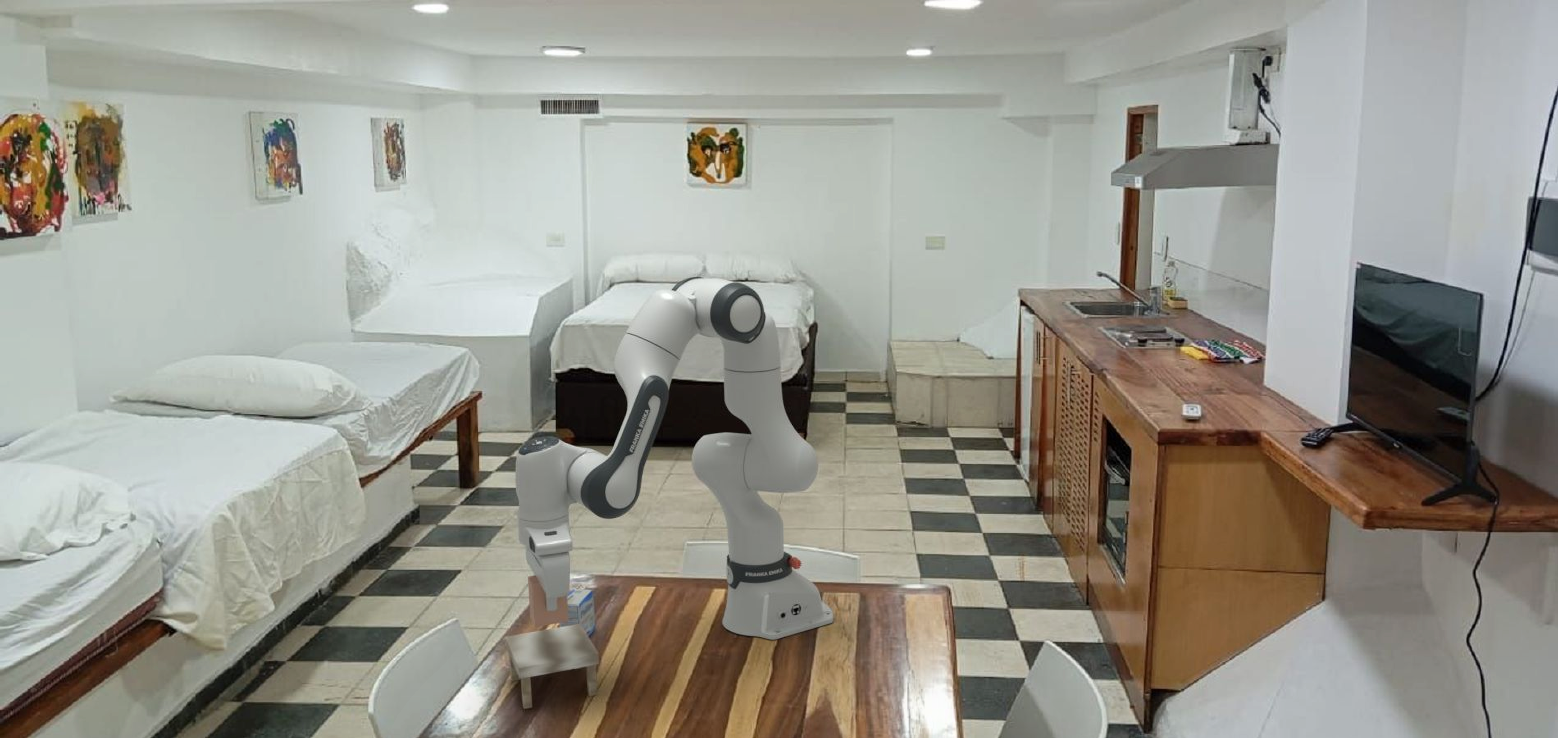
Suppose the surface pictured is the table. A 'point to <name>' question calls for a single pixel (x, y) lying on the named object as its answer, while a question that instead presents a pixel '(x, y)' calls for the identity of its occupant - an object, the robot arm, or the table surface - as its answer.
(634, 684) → the table surface
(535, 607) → the block
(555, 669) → the footstool
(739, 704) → the table surface
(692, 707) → the table surface
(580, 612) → the medicine box
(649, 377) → the robot arm
